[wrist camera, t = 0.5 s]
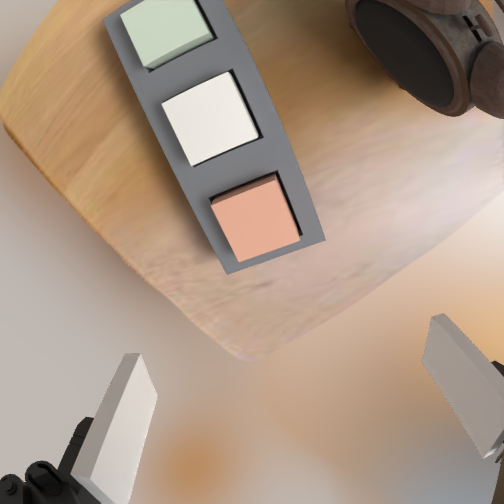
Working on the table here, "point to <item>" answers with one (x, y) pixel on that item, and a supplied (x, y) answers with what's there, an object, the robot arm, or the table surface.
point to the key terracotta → (255, 217)
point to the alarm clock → (436, 50)
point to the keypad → (235, 159)
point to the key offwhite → (210, 118)
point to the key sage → (165, 29)
